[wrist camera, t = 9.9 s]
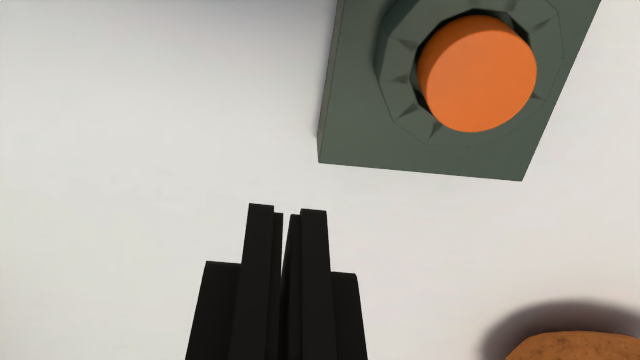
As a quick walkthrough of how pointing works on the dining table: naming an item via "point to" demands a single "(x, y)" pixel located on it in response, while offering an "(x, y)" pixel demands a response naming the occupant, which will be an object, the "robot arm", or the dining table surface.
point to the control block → (408, 101)
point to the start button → (476, 73)
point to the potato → (577, 346)
